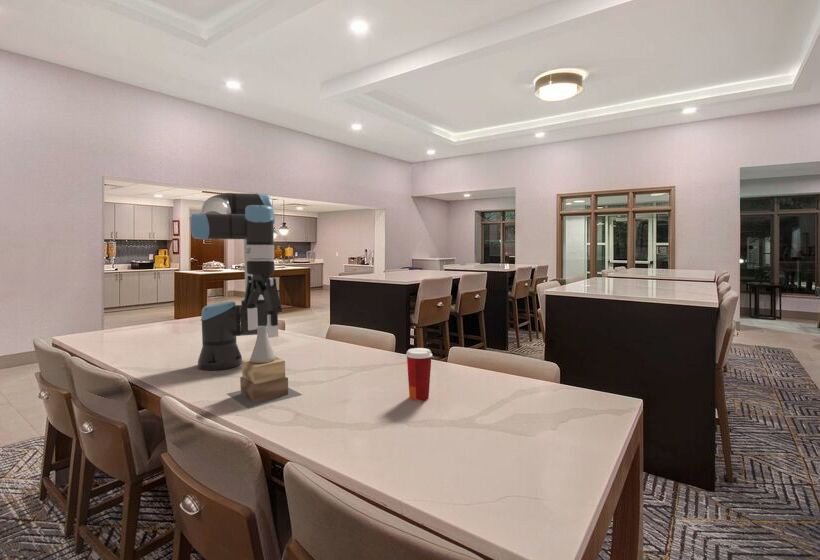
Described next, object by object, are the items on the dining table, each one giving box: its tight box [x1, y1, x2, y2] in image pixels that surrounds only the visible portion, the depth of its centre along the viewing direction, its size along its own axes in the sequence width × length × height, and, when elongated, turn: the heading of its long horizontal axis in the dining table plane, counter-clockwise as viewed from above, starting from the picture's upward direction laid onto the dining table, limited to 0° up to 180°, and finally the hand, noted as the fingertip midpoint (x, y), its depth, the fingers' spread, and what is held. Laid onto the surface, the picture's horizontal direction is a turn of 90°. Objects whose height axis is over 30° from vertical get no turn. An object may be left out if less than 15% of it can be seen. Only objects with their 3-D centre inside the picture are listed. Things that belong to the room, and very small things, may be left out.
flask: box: [249, 326, 276, 363], centre depth 126 cm, size 7×7×10 cm
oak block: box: [241, 357, 286, 384], centre depth 126 cm, size 9×9×5 cm
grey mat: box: [226, 386, 303, 409], centre depth 127 cm, size 16×16×1 cm
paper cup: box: [405, 347, 433, 402], centre depth 126 cm, size 8×8×14 cm
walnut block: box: [240, 376, 289, 403], centre depth 127 cm, size 10×10×5 cm
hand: (262, 333), depth 126 cm, fingers open, 13 cm apart
